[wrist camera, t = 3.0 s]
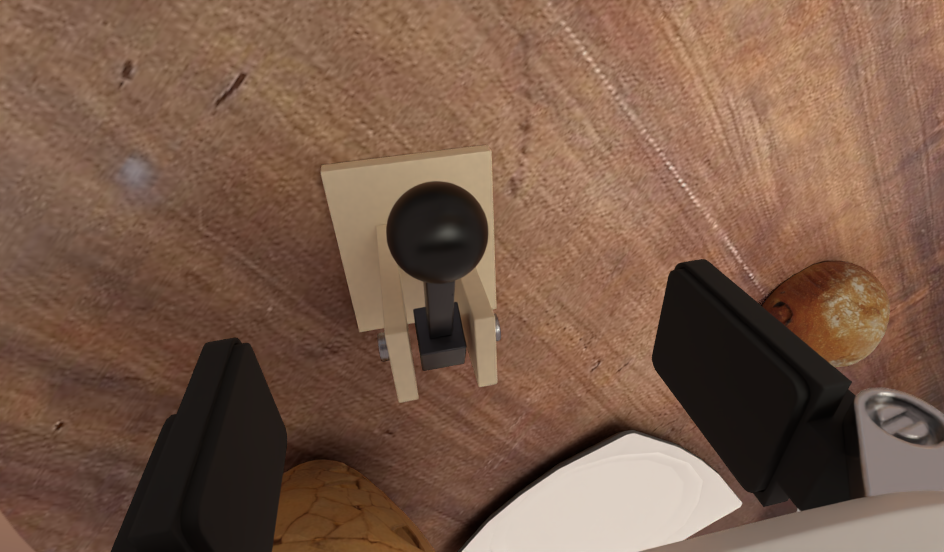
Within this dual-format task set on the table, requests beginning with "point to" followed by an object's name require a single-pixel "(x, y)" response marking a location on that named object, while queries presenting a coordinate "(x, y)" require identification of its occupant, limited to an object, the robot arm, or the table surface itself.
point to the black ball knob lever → (438, 261)
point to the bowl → (340, 513)
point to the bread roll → (833, 310)
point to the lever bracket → (381, 279)
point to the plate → (610, 501)
